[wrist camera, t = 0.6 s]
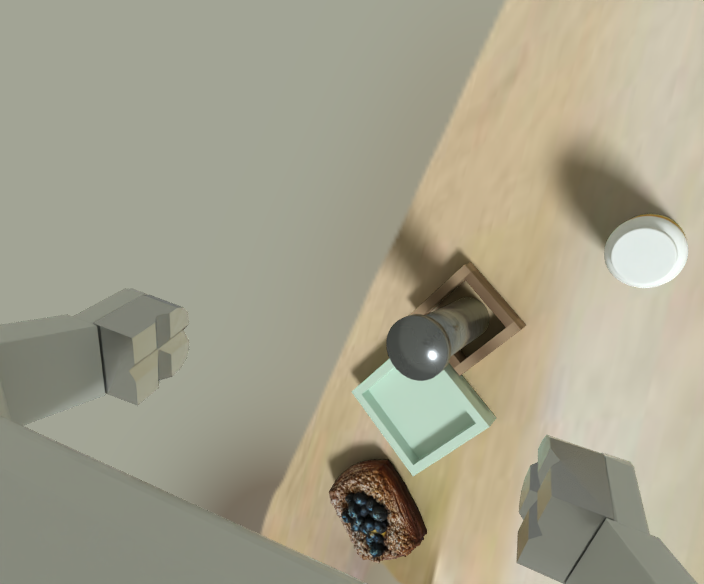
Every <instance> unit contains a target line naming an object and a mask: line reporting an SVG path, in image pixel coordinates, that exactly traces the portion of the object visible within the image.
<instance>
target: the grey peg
mask: <svg viewBox="0 0 704 584" xmlns="http://www.w3.org/2000/svg"><path fill="white" fill-rule="evenodd" d="M488 325H489V314H488V311H487V309H486V307H485V306H484V305H483V304H482V303H481V302H480V301H479V300H477V299H475V298H471V297H464V298H461V299H458V300H456V301H454V302H452V303H450V304H448V305H446V306H444V307H442V308H439V309H437V310H435V311H433V312H431V313H429V314H427V315H422V314H413V315H409V316H406V317H404V318H402V319H400V320H398V321H397V322H396V323H395V324H394V325H393V326H392V327H391V329H390V331H389V333H388V336H387V352H388V356H389V358H390V360H391V362H392V364H393V365H394V367H395V368H396V369H397V370H398V371H399V372H400V373H401V374H402V375H404V376H406V377H407V378H410V379H412V380H417V381H425V380H429V379H432V378H434V377H435V376H437V375H438V374H439V373H441V372H442V371H443V370H444V369H445V368H446V366H447V365H448V363H449V361H450V357H451V356H452V355H453V354H455V353H456V352H458V351H459V350H460V349H462V348H463V347H465V346H466V345H467V344H469V343H470V342H472V341H473V340H474V339H476V338H477V337H479V336H480V335H481V334H483V333H484V332H485V331H486V329H487V327H488Z"/></svg>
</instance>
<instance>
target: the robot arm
mask: <svg viewBox="0 0 704 584" xmlns="http://www.w3.org/2000/svg"><path fill="white" fill-rule="evenodd" d="M188 324H189V320H188V312H187V311H186V310H185V309H184V308H183V307H181V306H178V305H176V304H173V303H170V302H168V301H165V300H162V299H160V298H157V297H154V296H152V295H147V294H145V293H143V292H140V291H137V290H135V289H123V290H121V291H119V292H117V293H115V294H114V295H112V296H110V297H108V298H106V299H104V300H102V301H101V302H99V303H97V304H95V305H93V306H91V307H89V308H87V309H86V310H84V311H82V312H80V313H78V314H76V315H74V316H70V315H61V316H54V317H47V318H41V319H34V320H28V321H21V322H16V323H9V324H2V325H0V584H367V583H365V582H363V581H361V580H359V579H356V578H354V577H352V576H350V575H348V574H345V573H343V572H341V571H339V570H337V569H335V568H332V567H330V566H328V565H326V564H324V563H321V562H319V561H317V560H315V559H313V558H310V557H308V556H306V555H304V554H302V553H300V552H297V551H295V550H293V549H291V548H289V547H286V546H284V545H282V544H280V543H278V542H276V541H273V540H271V539H269V538H267V537H265V536H262V535H260V534H258V533H256V532H254V531H251V530H249V529H247V528H245V527H243V526H241V525H238V524H236V523H234V522H232V521H230V520H227V519H225V518H223V517H221V516H219V515H216V514H214V513H212V512H210V511H208V510H205V509H203V508H201V507H199V506H197V505H195V504H192V503H190V502H188V501H186V500H184V499H182V498H179V497H177V496H175V495H173V494H170V493H168V492H166V491H164V490H162V489H160V488H157V487H155V486H153V485H151V484H149V483H147V482H144V481H142V480H140V479H138V478H136V477H133V476H131V475H129V474H127V473H125V472H123V471H120V470H118V469H116V468H114V467H112V466H109V465H107V464H105V463H103V462H101V461H98V460H96V459H94V458H92V457H90V456H88V455H85V454H83V453H81V452H79V451H77V450H74V449H72V448H70V447H68V446H66V445H63V444H61V443H59V442H57V441H55V440H52V439H50V438H48V437H46V436H44V435H41V434H39V433H37V432H35V431H33V430H31V429H28V428H26V427H24V425H27V424H29V423H32V422H35V421H37V420H40V419H43V418H45V417H48V416H51V415H54V414H56V413H59V412H62V411H64V410H67V409H70V408H72V407H75V406H78V405H80V404H83V403H86V402H89V401H91V400H94V399H97V398H100V397H102V396H105V395H106V394H109V395H112V396H114V397H117V398H119V399H122V400H124V401H127V402H130V403H132V404H135V405H139V404H140V403H142V402H143V401H144V400H145V399H146V398H147V397H149V396H150V395H151V394H152V393H153V392H154V391H156V390H157V389H158V388H159V380H162V379H165V378H169V377H172V376H173V375H174V374H175V373H177V372H178V371H179V370H180V369H181V367H182V365H183V364H184V362H185V360H186V359H187V355H188V351H189V339H188V338H187V336H186V334H185V332H184V331H183V330H184V329H185V328H186V327H187V326H188ZM105 393H106V394H105ZM519 513H520V515H521V517H522V518H523V522H522V524H521V526H520V528H519V531H518V541H517V563H518V564H520V565H523V566H525V567H527V568H529V569H532V570H534V571H536V572H538V573H541V574H543V575H545V576H547V577H550V578H552V579H554V580H556V581H559V582H561V583H563V584H697V582H696V581H695V580H694V579H693V578H692V576H691V575H690V574H689V573H688V572H687V571H686V569H685V568H684V567H683V566H682V565H681V563H680V562H679V561H678V560H677V559H676V558H675V556H674V555H673V554H672V553H671V552H670V551H669V549H668V548H667V547H666V546H665V545H664V543H663V542H662V541H661V540H660V539H659V538H658V537H655V536H652V535H650V533H649V529H648V524H647V520H646V516H645V512H644V508H643V503H642V499H641V495H640V491H639V486H638V482H637V478H636V474H635V470H634V466H633V465H632V464H631V462H629V461H626V460H623V459H620V458H617V457H614V456H611V455H608V454H604V453H599V452H596V451H593V450H590V449H587V448H584V447H581V446H578V445H575V444H573V443H570V442H567V441H564V440H561V439H558V438H555V437H552V436H549V435H546V436H545V438H544V439H543V440H542V442H541V444H540V446H539V448H538V462H537V463H535V464H532V465H530V468H529V470H528V472H527V475H526V477H525V480H524V483H523V487H522V490H521V496H520V503H519Z"/></svg>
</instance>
